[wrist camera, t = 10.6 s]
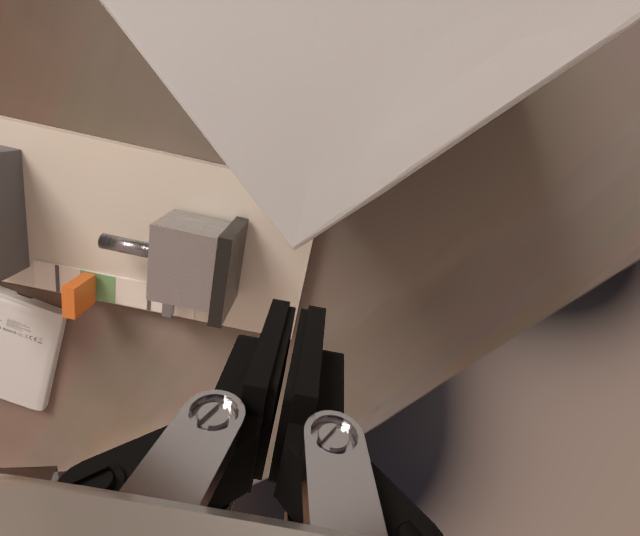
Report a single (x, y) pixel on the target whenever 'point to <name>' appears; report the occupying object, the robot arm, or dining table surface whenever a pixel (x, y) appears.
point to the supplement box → (353, 84)
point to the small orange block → (78, 295)
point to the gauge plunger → (190, 261)
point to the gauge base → (125, 218)
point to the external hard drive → (28, 348)
